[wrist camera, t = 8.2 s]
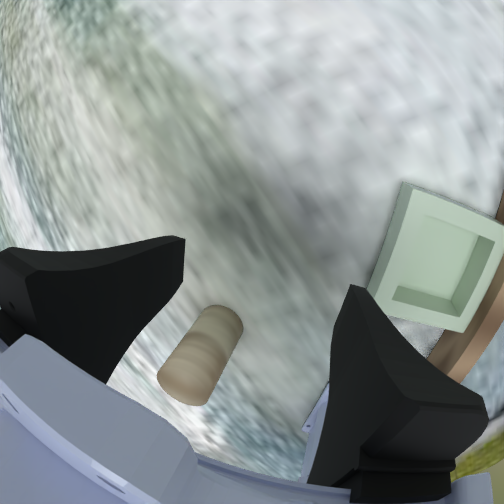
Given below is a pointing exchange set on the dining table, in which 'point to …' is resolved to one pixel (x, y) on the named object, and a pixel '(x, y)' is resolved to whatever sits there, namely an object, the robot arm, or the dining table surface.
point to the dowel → (201, 356)
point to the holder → (436, 260)
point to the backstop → (473, 328)
